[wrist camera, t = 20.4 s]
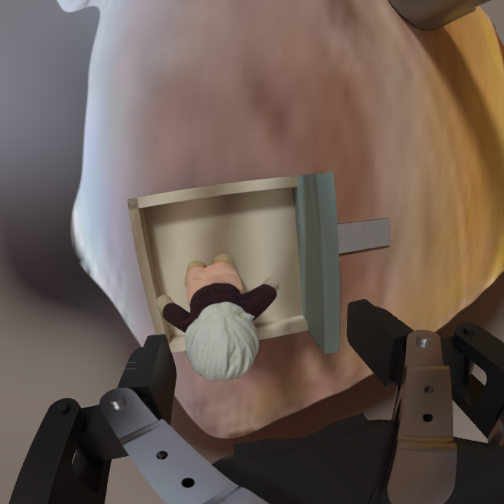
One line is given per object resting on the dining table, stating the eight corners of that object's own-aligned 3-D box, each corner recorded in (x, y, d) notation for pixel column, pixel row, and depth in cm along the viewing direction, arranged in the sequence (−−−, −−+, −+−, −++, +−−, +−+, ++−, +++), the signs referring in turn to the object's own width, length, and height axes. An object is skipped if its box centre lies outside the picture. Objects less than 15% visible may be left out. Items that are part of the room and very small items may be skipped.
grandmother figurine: (184, 308, 23) (165, 417, 11) (164, 268, 22) (119, 356, 10) (268, 275, 23) (325, 363, 11) (252, 233, 22) (302, 288, 10)
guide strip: (388, 217, 28) (389, 218, 28) (388, 244, 29) (390, 244, 28) (140, 252, 25) (139, 252, 25) (146, 281, 26) (146, 282, 25)
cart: (292, 177, 25) (333, 172, 17) (303, 305, 28) (338, 350, 20) (143, 197, 24) (108, 202, 15) (169, 326, 27) (155, 381, 18)
